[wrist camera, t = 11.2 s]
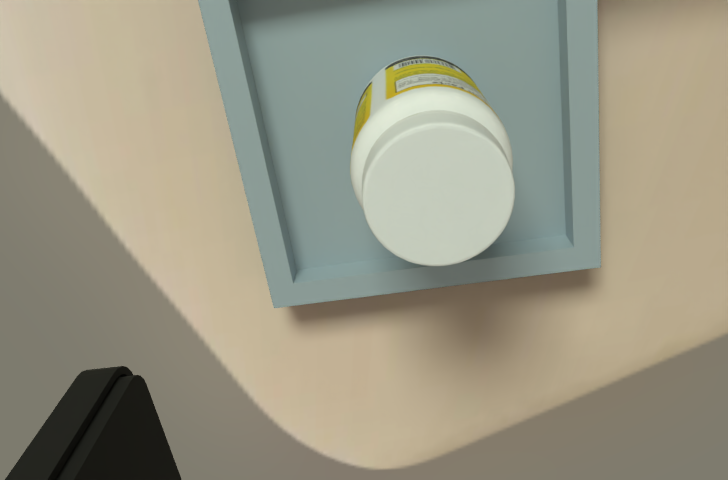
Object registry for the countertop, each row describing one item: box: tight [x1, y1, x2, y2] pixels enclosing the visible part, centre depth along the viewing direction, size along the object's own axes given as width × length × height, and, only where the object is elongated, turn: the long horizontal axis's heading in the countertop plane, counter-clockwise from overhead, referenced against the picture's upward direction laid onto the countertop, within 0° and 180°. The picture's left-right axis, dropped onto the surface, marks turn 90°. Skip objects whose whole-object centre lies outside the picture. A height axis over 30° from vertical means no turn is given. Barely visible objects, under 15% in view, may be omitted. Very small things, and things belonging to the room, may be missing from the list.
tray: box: [198, 0, 601, 308], centre depth 25 cm, size 13×13×2 cm
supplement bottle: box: [350, 55, 515, 266], centre depth 21 cm, size 5×5×8 cm
